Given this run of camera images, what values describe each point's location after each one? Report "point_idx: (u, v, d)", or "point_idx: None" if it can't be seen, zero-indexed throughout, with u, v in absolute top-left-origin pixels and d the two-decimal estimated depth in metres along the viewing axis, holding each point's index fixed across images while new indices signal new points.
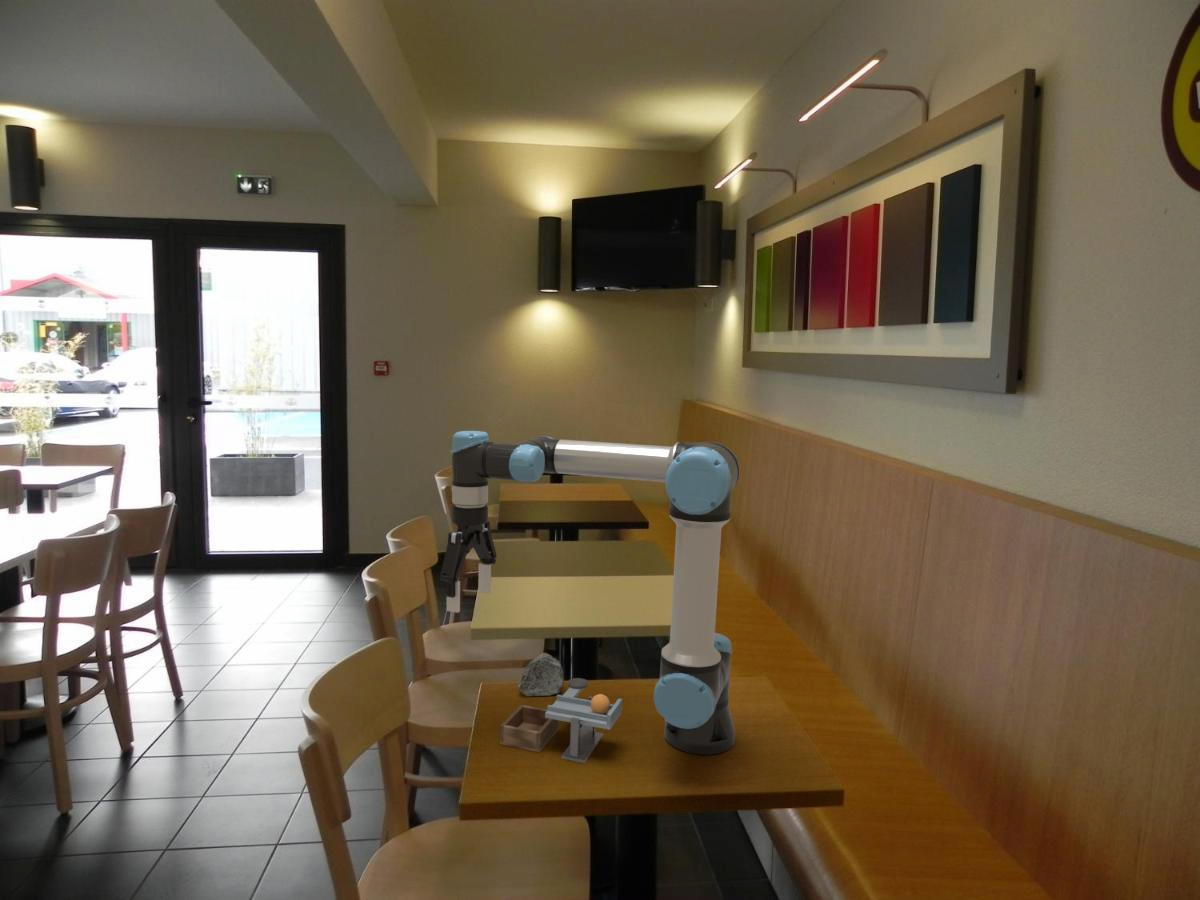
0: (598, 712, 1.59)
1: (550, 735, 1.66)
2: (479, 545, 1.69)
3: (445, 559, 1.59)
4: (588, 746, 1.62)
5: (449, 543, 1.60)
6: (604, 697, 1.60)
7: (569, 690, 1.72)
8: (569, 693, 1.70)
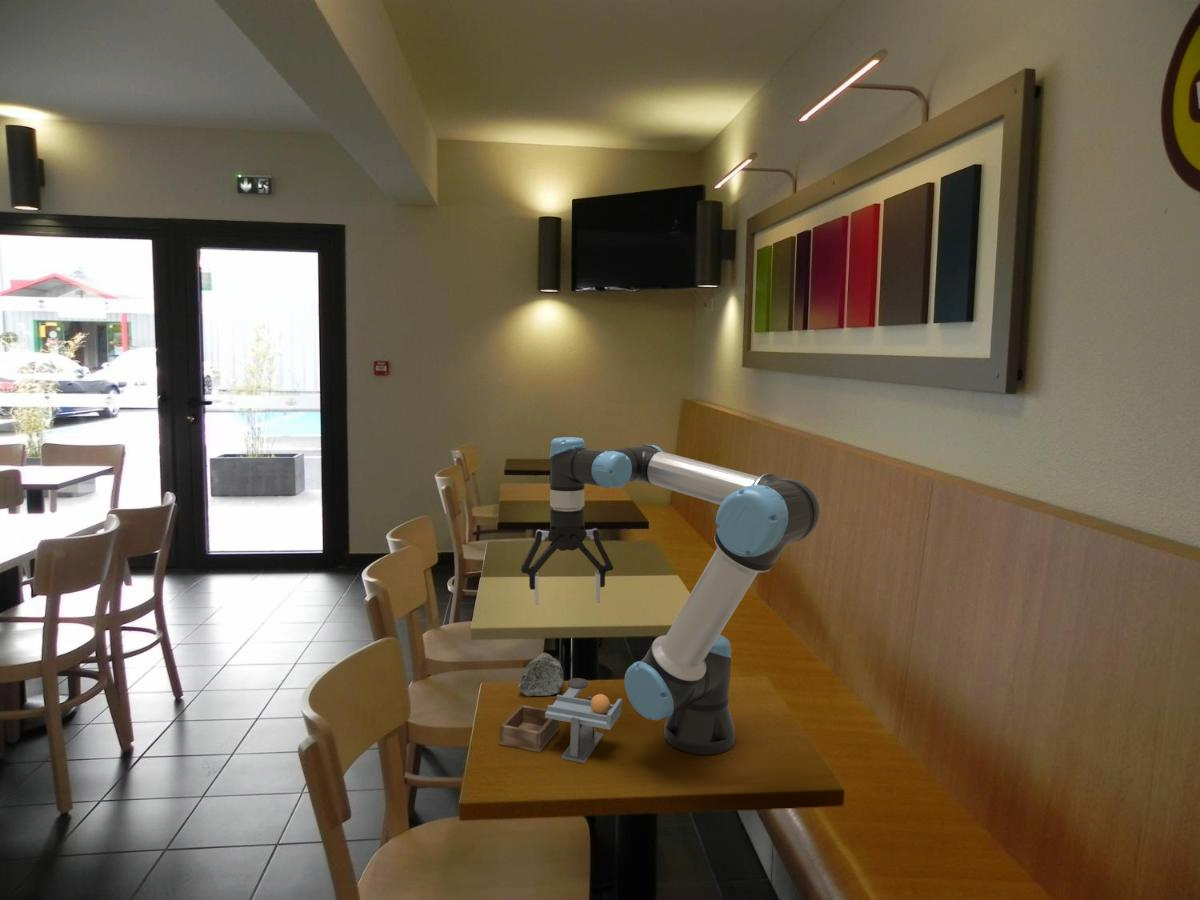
0: (598, 712, 1.59)
1: (550, 735, 1.66)
2: None
3: (528, 552, 1.72)
4: (588, 746, 1.62)
5: (535, 539, 1.72)
6: (604, 697, 1.60)
7: (569, 690, 1.72)
8: (569, 693, 1.70)
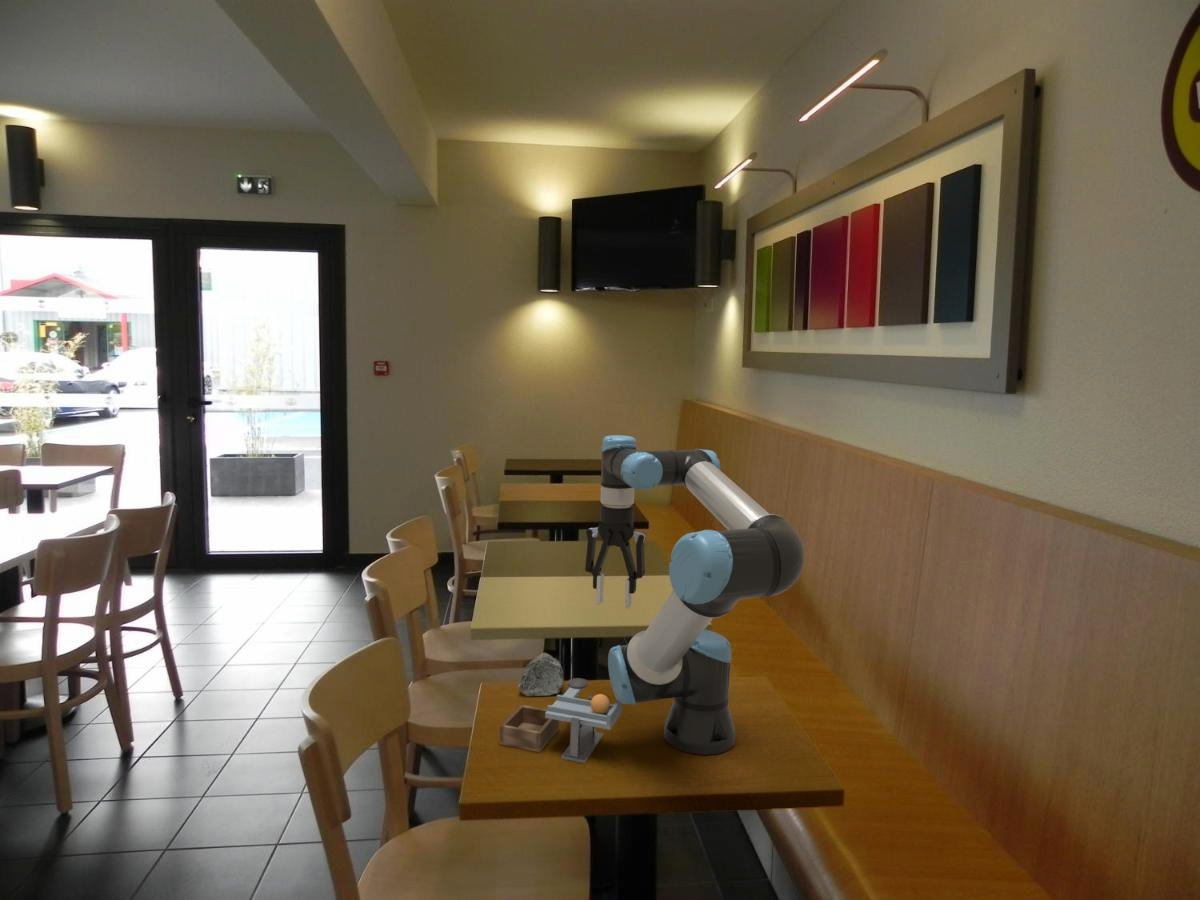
0: (598, 712, 1.59)
1: (550, 735, 1.66)
2: None
3: None
4: (588, 746, 1.62)
5: None
6: (604, 697, 1.60)
7: (569, 690, 1.72)
8: (569, 693, 1.70)
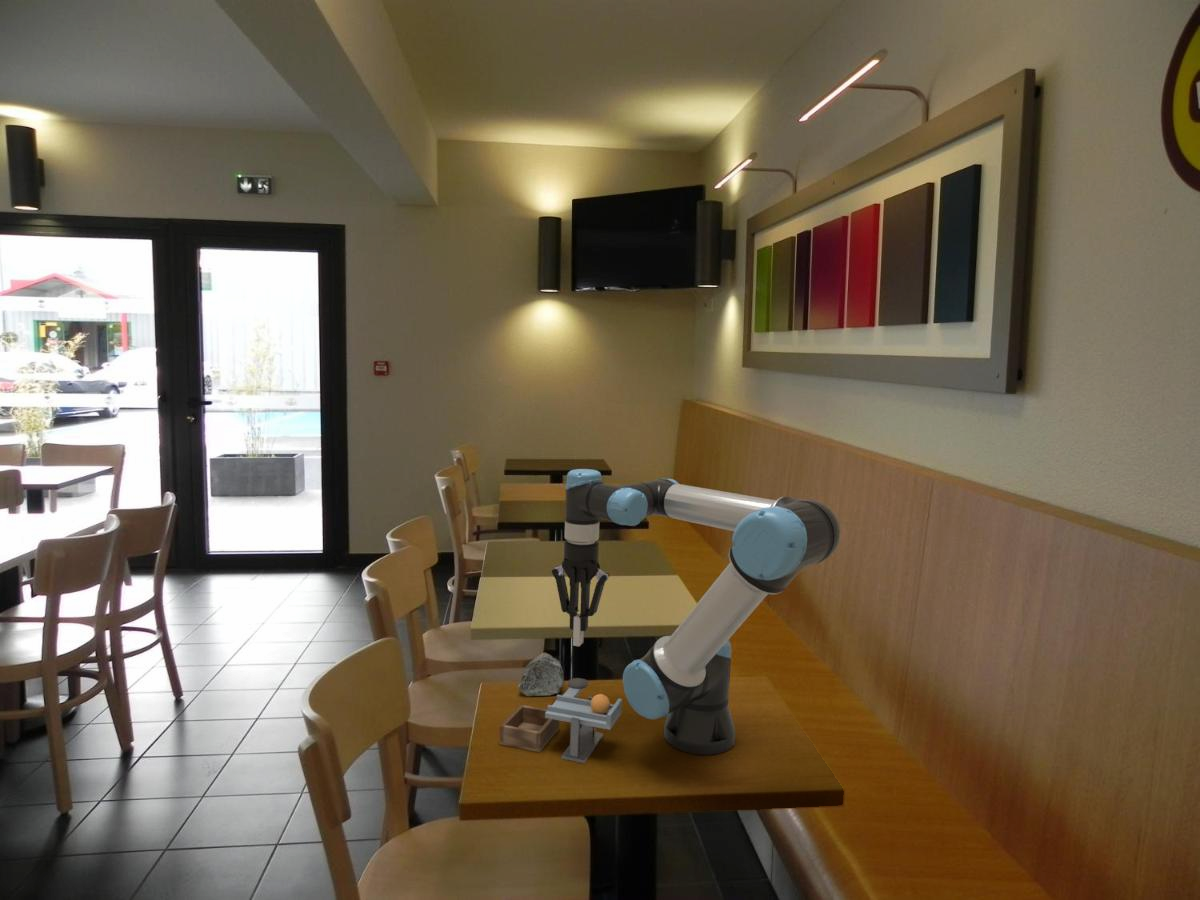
0: (598, 712, 1.59)
1: (550, 735, 1.66)
2: None
3: None
4: (588, 746, 1.62)
5: None
6: (604, 697, 1.60)
7: (569, 690, 1.72)
8: (569, 693, 1.70)
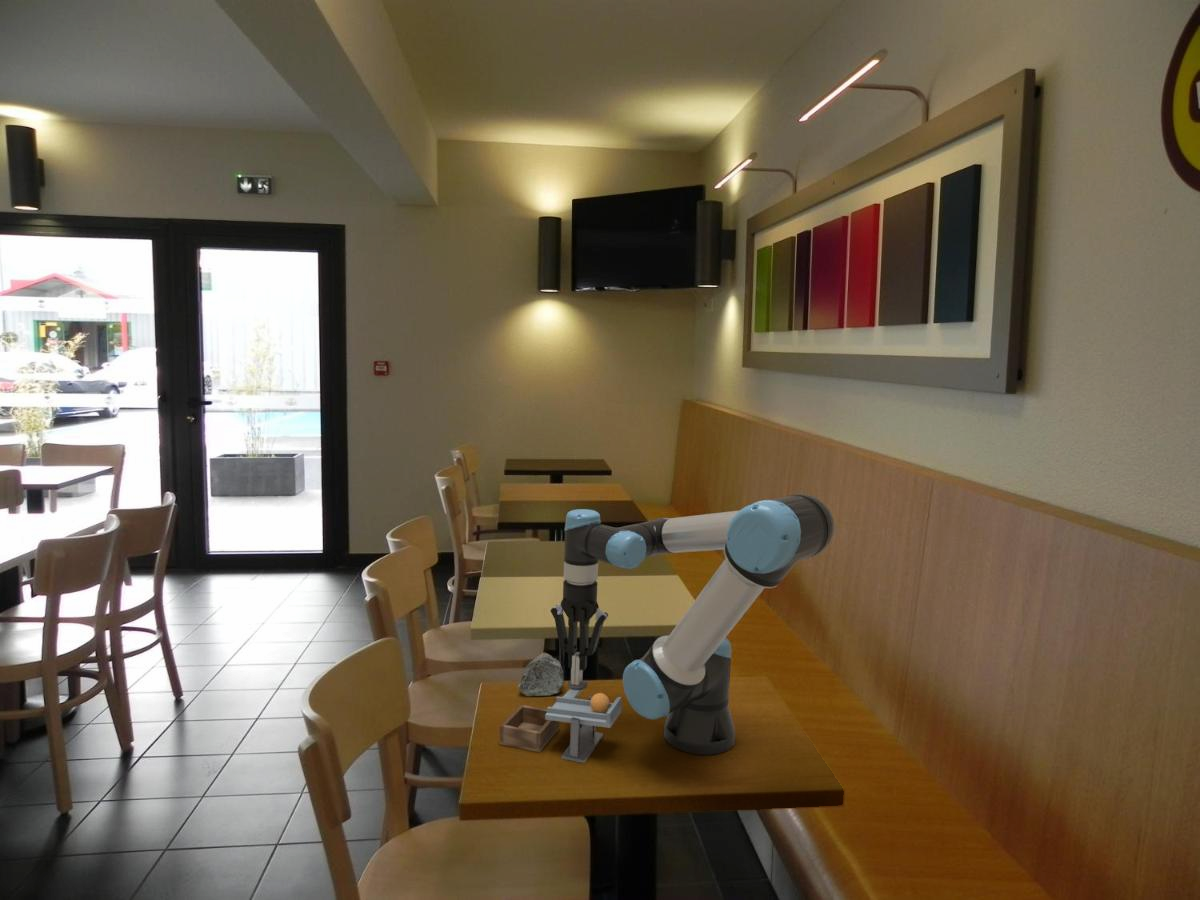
0: (598, 711, 1.59)
1: (550, 735, 1.66)
2: None
3: None
4: (588, 746, 1.62)
5: None
6: (604, 696, 1.60)
7: (569, 691, 1.72)
8: (569, 695, 1.70)
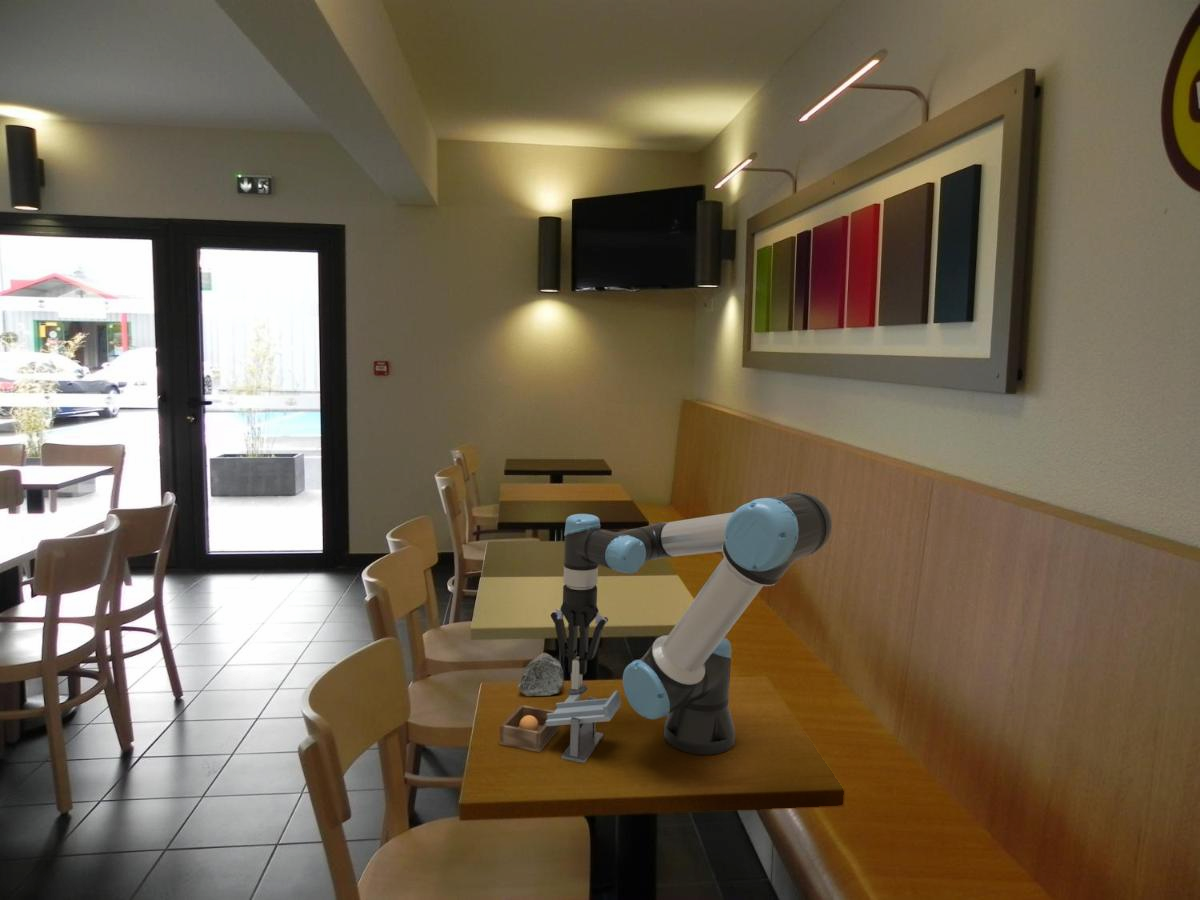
0: (528, 726, 1.65)
1: (550, 735, 1.66)
2: None
3: None
4: (588, 746, 1.62)
5: None
6: None
7: (569, 697, 1.72)
8: (569, 700, 1.70)
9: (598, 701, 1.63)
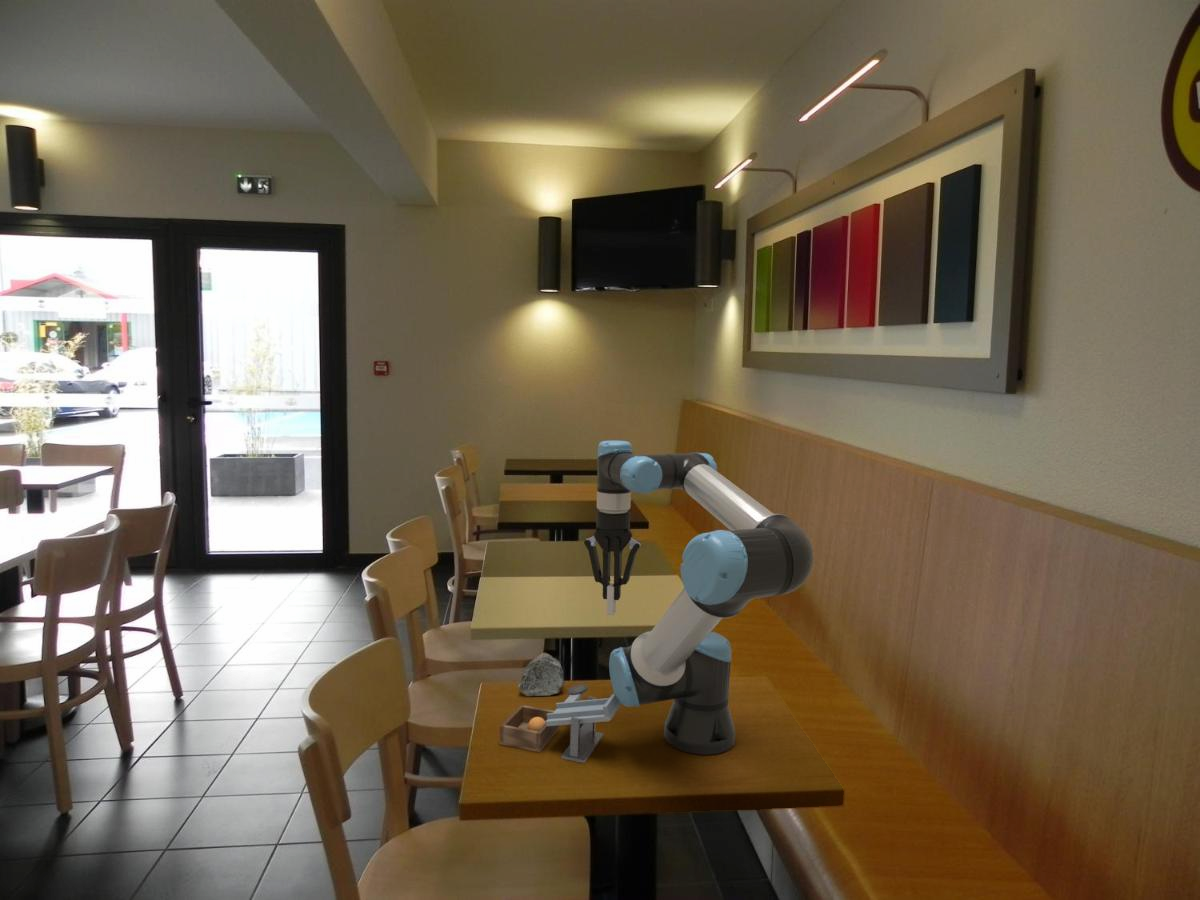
0: None
1: (550, 735, 1.66)
2: None
3: None
4: (588, 746, 1.62)
5: None
6: (532, 719, 1.66)
7: (569, 697, 1.72)
8: (569, 700, 1.70)
9: (598, 701, 1.63)
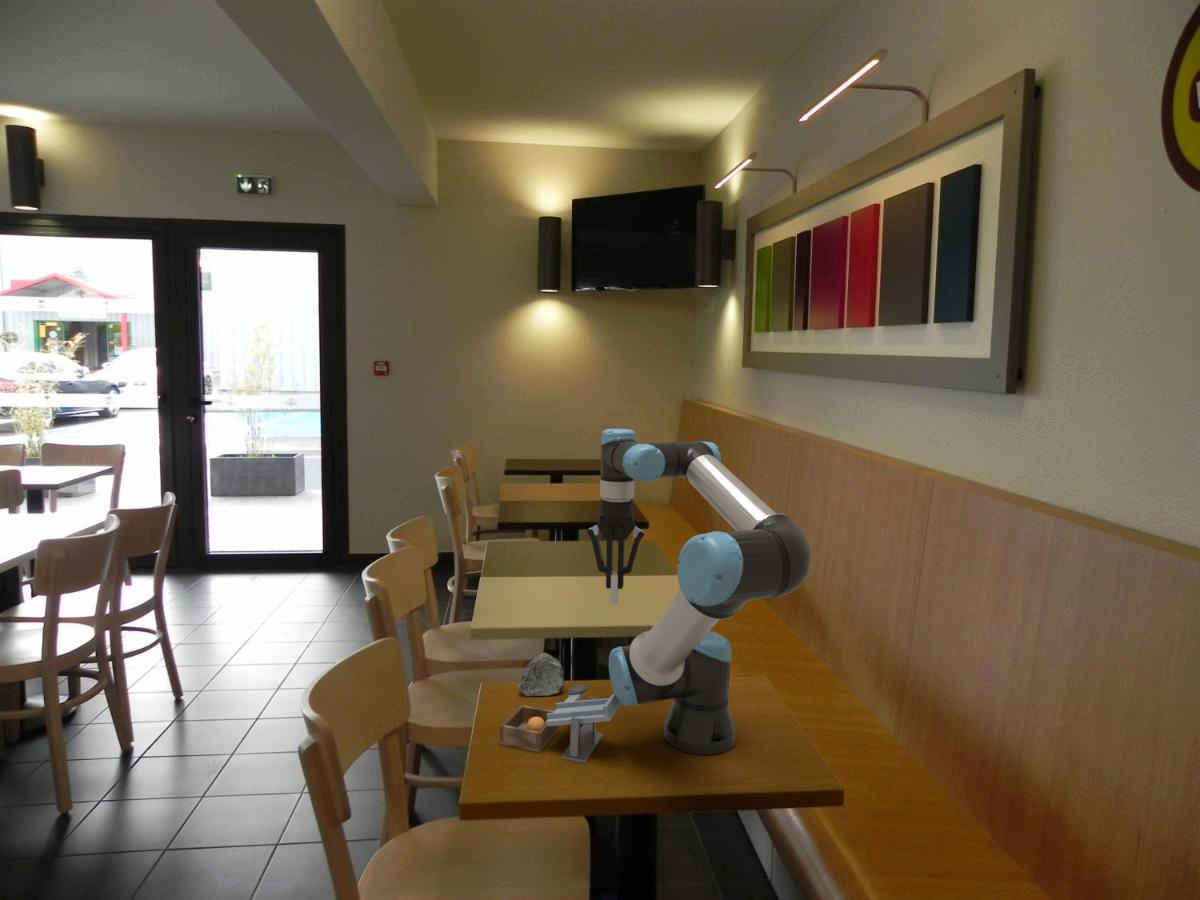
0: None
1: (550, 735, 1.66)
2: None
3: None
4: (588, 746, 1.62)
5: None
6: (530, 719, 1.66)
7: (569, 697, 1.72)
8: (569, 700, 1.70)
9: (598, 701, 1.63)
